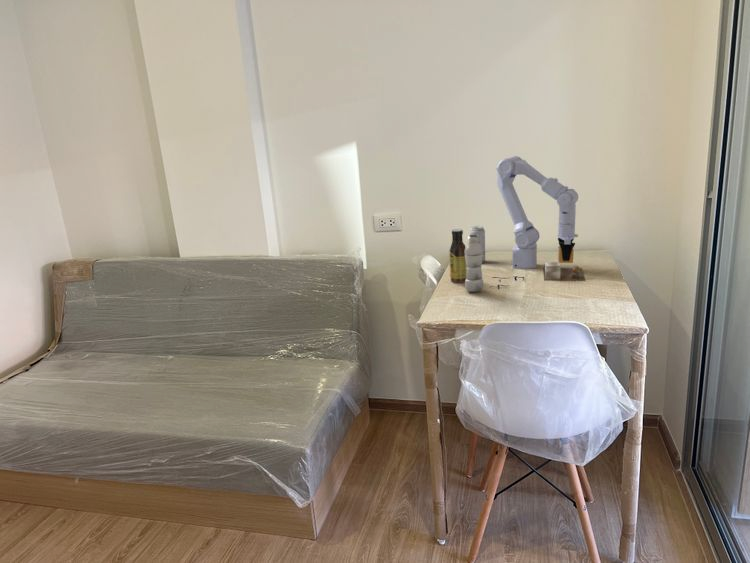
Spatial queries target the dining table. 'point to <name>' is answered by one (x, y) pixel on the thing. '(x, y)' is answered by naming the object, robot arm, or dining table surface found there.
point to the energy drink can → (479, 237)
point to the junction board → (562, 273)
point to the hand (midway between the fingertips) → (565, 258)
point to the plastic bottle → (473, 264)
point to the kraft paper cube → (562, 258)
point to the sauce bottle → (457, 257)
